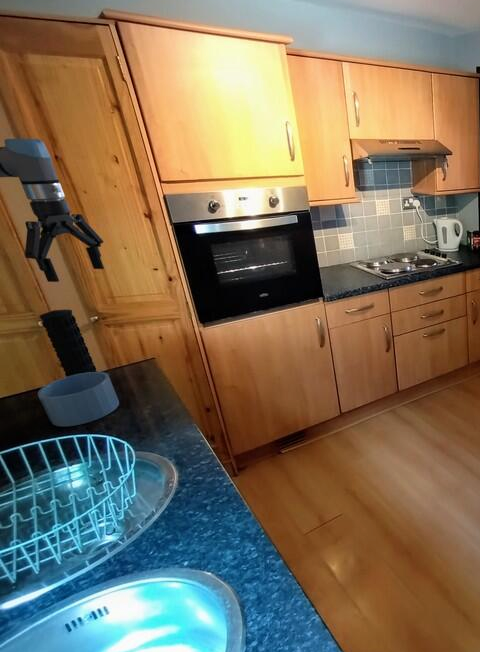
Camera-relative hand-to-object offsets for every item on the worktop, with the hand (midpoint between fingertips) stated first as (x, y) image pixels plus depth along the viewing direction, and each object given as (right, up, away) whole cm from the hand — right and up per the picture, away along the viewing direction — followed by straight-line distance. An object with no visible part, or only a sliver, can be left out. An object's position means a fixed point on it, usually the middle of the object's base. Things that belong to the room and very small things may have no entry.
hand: (77, 274), depth 132 cm
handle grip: (-3, -35, +7) cm, 36 cm away
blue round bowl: (+7, -40, -4) cm, 40 cm away
